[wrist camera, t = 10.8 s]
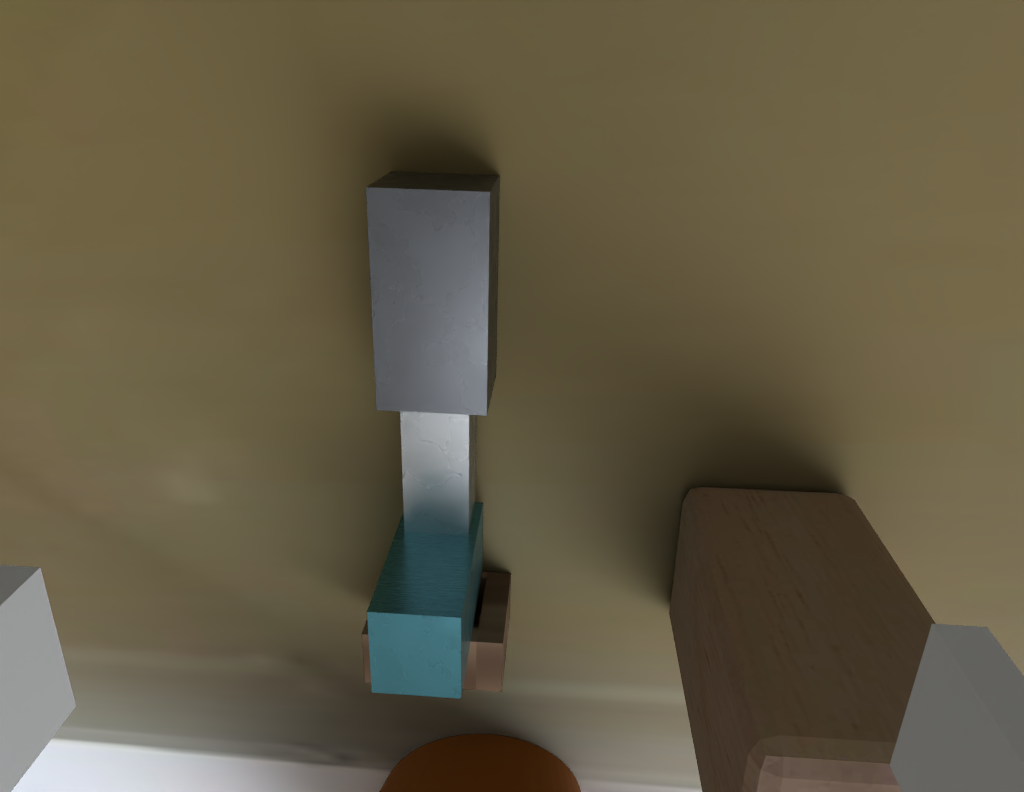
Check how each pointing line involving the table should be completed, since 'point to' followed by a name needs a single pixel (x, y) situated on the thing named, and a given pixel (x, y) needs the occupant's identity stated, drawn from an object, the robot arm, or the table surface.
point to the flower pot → (480, 767)
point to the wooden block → (792, 641)
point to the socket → (479, 635)
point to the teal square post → (430, 563)
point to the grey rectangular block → (434, 290)
